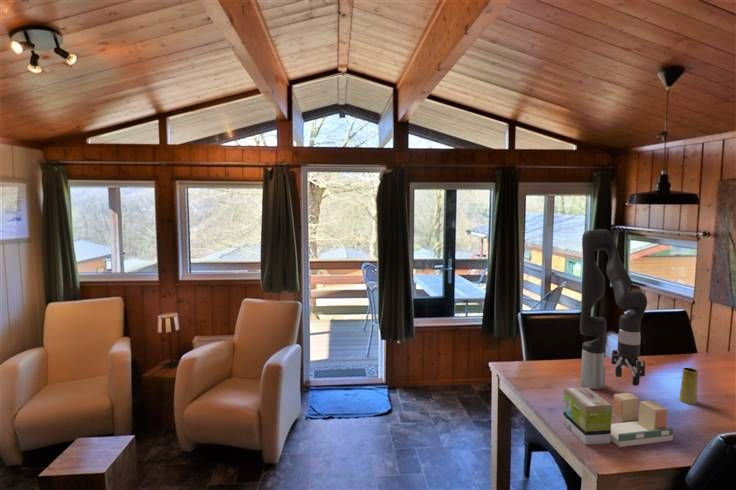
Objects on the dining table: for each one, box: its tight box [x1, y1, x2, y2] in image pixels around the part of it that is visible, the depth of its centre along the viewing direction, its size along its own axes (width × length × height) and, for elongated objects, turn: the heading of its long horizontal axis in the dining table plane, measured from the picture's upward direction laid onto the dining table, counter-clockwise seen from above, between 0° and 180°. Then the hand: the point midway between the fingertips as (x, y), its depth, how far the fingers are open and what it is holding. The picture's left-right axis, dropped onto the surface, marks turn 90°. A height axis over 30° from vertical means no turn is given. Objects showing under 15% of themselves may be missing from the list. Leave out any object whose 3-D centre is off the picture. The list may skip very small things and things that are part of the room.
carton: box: [612, 392, 640, 423], centre depth 168 cm, size 5×7×9 cm
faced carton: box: [637, 400, 668, 430], centre depth 156 cm, size 5×7×9 cm
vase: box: [679, 367, 699, 405], centre depth 181 cm, size 6×6×14 cm
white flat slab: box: [610, 420, 674, 448], centre depth 155 cm, size 22×11×4 cm, turn 101°
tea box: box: [562, 386, 613, 445], centre depth 156 cm, size 15×10×15 cm, turn 5°
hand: (626, 380), depth 167 cm, fingers open, 8 cm apart
